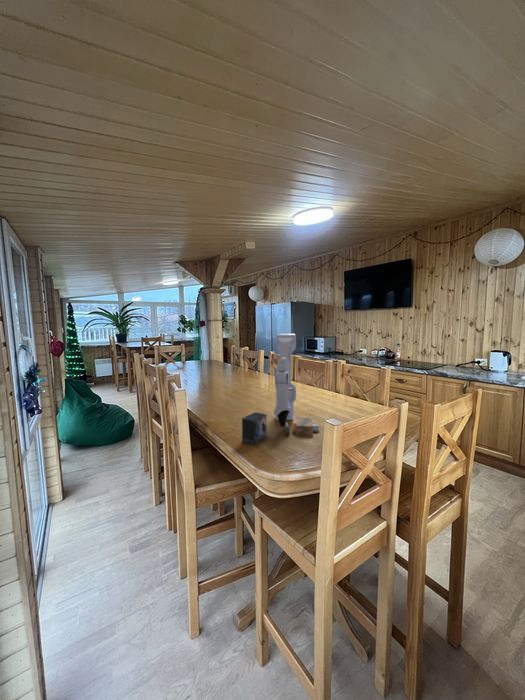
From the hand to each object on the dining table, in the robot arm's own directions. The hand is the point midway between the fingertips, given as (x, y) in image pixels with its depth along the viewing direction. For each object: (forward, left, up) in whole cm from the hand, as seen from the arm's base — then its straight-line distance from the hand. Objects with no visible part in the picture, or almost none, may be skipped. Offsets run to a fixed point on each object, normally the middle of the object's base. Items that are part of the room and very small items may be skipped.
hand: (282, 426), depth 143 cm
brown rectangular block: (+11, 0, -2) cm, 11 cm away
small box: (-11, -12, -2) cm, 17 cm away
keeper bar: (+2, -1, -1) cm, 2 cm away
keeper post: (+3, -6, -2) cm, 7 cm away
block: (+10, 0, -2) cm, 10 cm away
